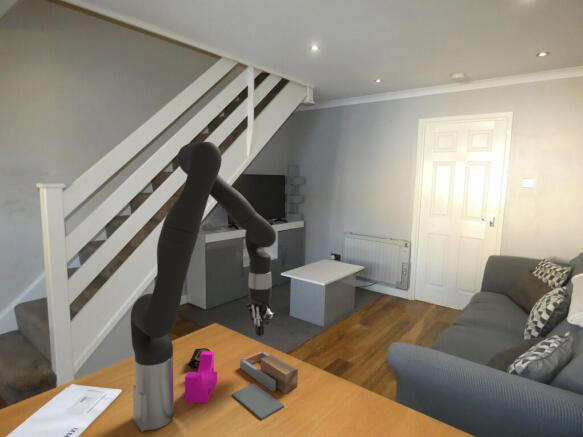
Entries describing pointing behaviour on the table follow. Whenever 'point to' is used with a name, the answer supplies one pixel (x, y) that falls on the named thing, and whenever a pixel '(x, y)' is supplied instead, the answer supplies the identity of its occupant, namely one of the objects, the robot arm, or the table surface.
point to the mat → (258, 401)
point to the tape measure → (196, 357)
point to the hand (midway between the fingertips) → (259, 335)
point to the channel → (257, 370)
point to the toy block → (201, 380)
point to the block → (280, 372)
